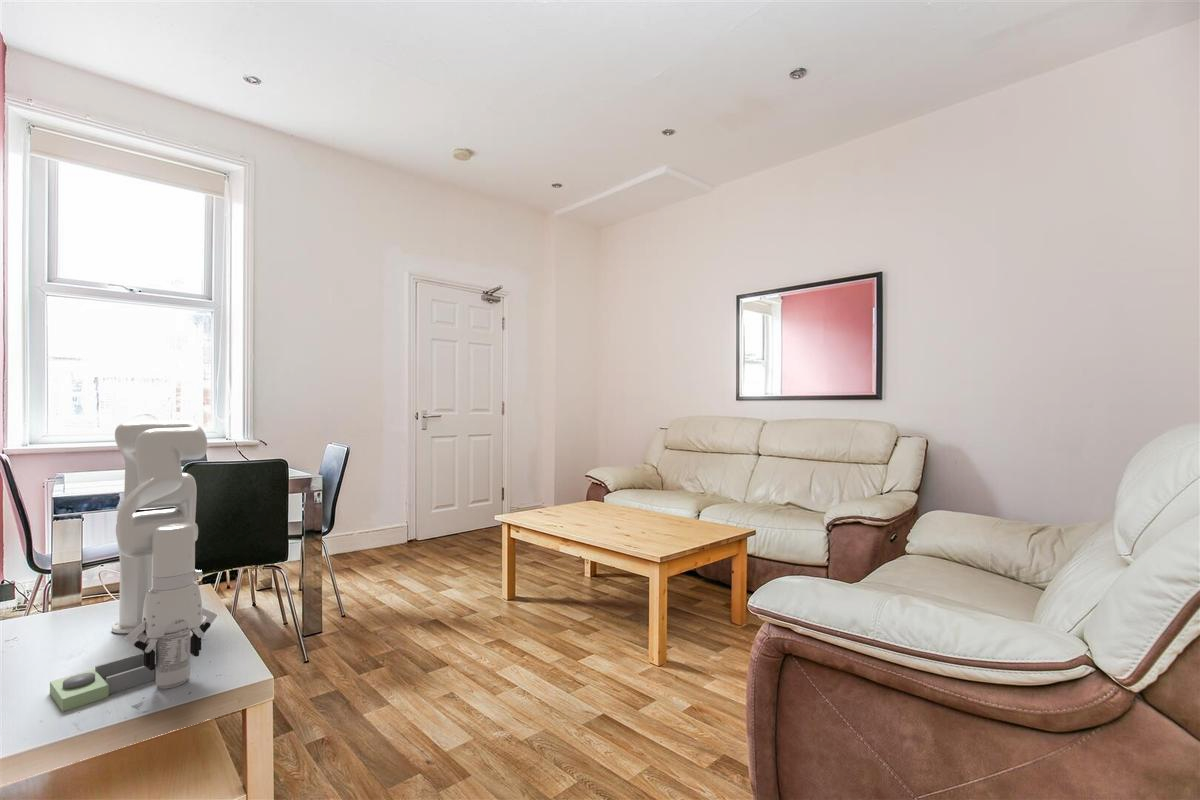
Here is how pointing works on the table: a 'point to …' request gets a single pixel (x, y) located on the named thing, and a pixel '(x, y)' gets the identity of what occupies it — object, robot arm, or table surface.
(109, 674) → the grey open box
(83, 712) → the table surface
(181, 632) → the energy drink can
